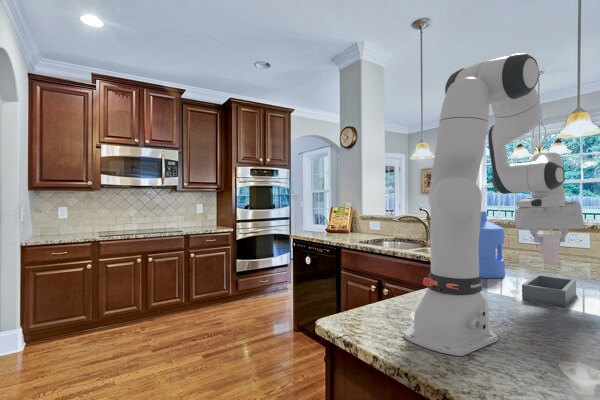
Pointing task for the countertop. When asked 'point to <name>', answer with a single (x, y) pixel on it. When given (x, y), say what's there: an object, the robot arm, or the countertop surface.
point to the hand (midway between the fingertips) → (549, 242)
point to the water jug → (490, 249)
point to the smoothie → (550, 247)
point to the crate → (549, 290)
